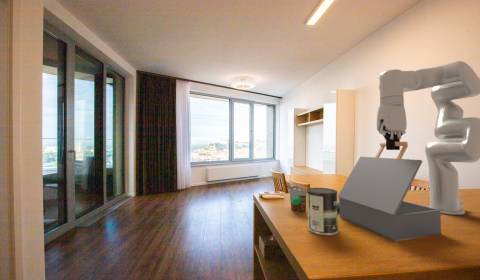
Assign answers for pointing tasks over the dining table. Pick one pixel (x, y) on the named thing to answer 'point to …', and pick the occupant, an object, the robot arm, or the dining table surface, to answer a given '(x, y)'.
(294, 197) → the food container
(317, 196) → the coffee can
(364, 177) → the lid
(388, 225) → the box
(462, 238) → the dining table surface
